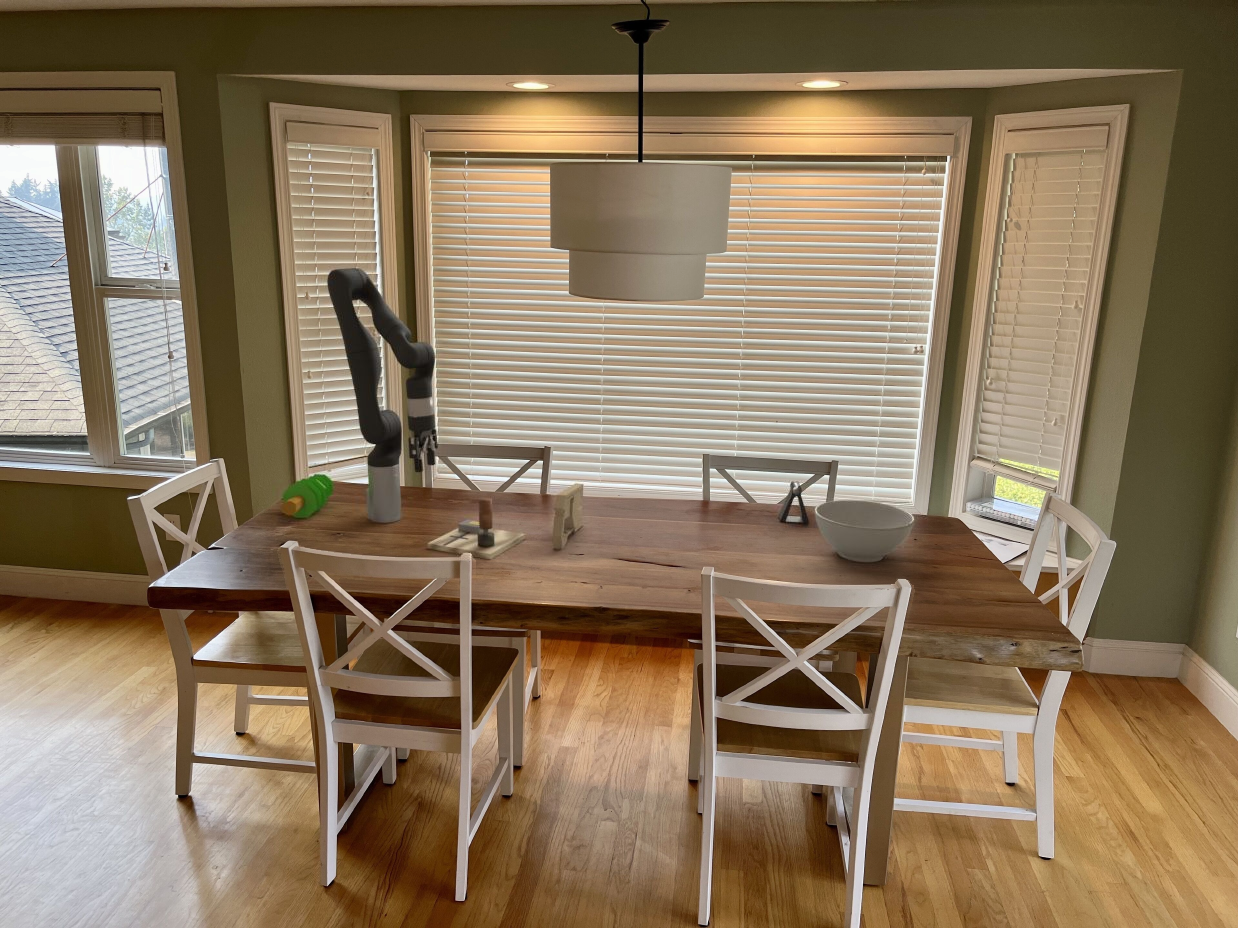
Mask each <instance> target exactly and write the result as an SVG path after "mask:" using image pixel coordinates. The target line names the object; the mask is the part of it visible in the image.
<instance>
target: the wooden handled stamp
mask: <svg viewBox="0 0 1238 928" xmlns="http://www.w3.org/2000/svg"><path fill="white" fill-rule="evenodd" d="M478 521H479V528H480V529H483V532H481V533H478V546H479V547H483V548H488V547H492V546H494V545H495V544H494V533H492V532H488V529H493V498H491V497H481V498H478Z"/></svg>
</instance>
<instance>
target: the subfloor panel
mask: <svg viewBox="0 0 1238 928" xmlns="http://www.w3.org/2000/svg"><path fill="white" fill-rule="evenodd" d="M488 532H492V533H494V544H495V545H494V546H492V547H488V548H483V547H479V546H478V534H476V533H470V532H464V531H458V527H456V528H455V529H453V530H451V531H449V532H447V533H445V534H443V535H441V536H439V537H438V538H436V539H434V540H431V541H429V542H427V549H430V550H436V551H441V552H446V553H452V554H459V555H463V553H465V552H468V553H471V554H472V555H473V556H472V557H474V558H479V559H487V560H492V559H494V558H496V557H497V556H499V555H501V554H502V553H504V552H506V551H508V550H509V549H511V548H513V547H514V546H516V545H517V544H519V543H521V542H523V541H524V540H525V539H526V534H525V533H520V532H513V531H507V530H502V529H496V528H492V529H488Z"/></svg>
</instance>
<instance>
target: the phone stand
mask: <svg viewBox="0 0 1238 928" xmlns="http://www.w3.org/2000/svg"><path fill="white" fill-rule="evenodd" d="M796 484H797V485H796ZM796 486H797V487H796ZM789 487H790V489H789V491H788V493H787V495H786V498H785V500H784V503H783V504H782V506H781V509H780V511H779V513H778V520H779V522H780V523H783V524H784V523H788V524H794V523H795V524H807V525H808V524H810V520H809V517H808V514H807V511H806V508H805V504H804V500H803V497H802V489H803V488H802V486H801V484H800V482H799V481H798V480H796V483H795V480H792V481H791V482H790V484H789ZM795 497H797V501H798V506H799V511H800V516H793V515H791V516H790V515H789V513H790V510H791V508H792V504H793V502H794V499H795Z"/></svg>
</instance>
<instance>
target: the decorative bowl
mask: <svg viewBox="0 0 1238 928" xmlns="http://www.w3.org/2000/svg"><path fill="white" fill-rule="evenodd" d="M814 517H815V522H816V525H817V527H818V529H819V531H820V533H821V535H822V537H823V538H824V539H825V541H826V542H827V543H828V544H829V545H830V546H831V547H832V548H833V549H835V550H836V551H837V554H838V555H839V556H840V557H841V558H844V559H846V560H849V561H853V562H858V563H859V562H860V563H874V562H878V561H881V560H883V558H884V556H886V555H889V554H891V553H892V552H893V551H895V550H897V549H898V548H899V547H900V546H901V545H902V544H903V543H904V542H905V540H906V539H907V538H908V536H909V534H910V533H911V531H912V530H913V528H914V524H915V521H916V519H915V517H914V515H913V514H911V513H910V512H909V511H908V510H905V509H903V508H900V507H897V506H895V505H890V504H886V503H882V502H876V501H869V500H868V501H867V500H857V499H856V500H855V499H845V500H844V499H841V500H832V501H831V500H830V501H827V502H826V501H825V502H822V503H820V504H818V505H817V506H816V507H815V508H814Z"/></svg>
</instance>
